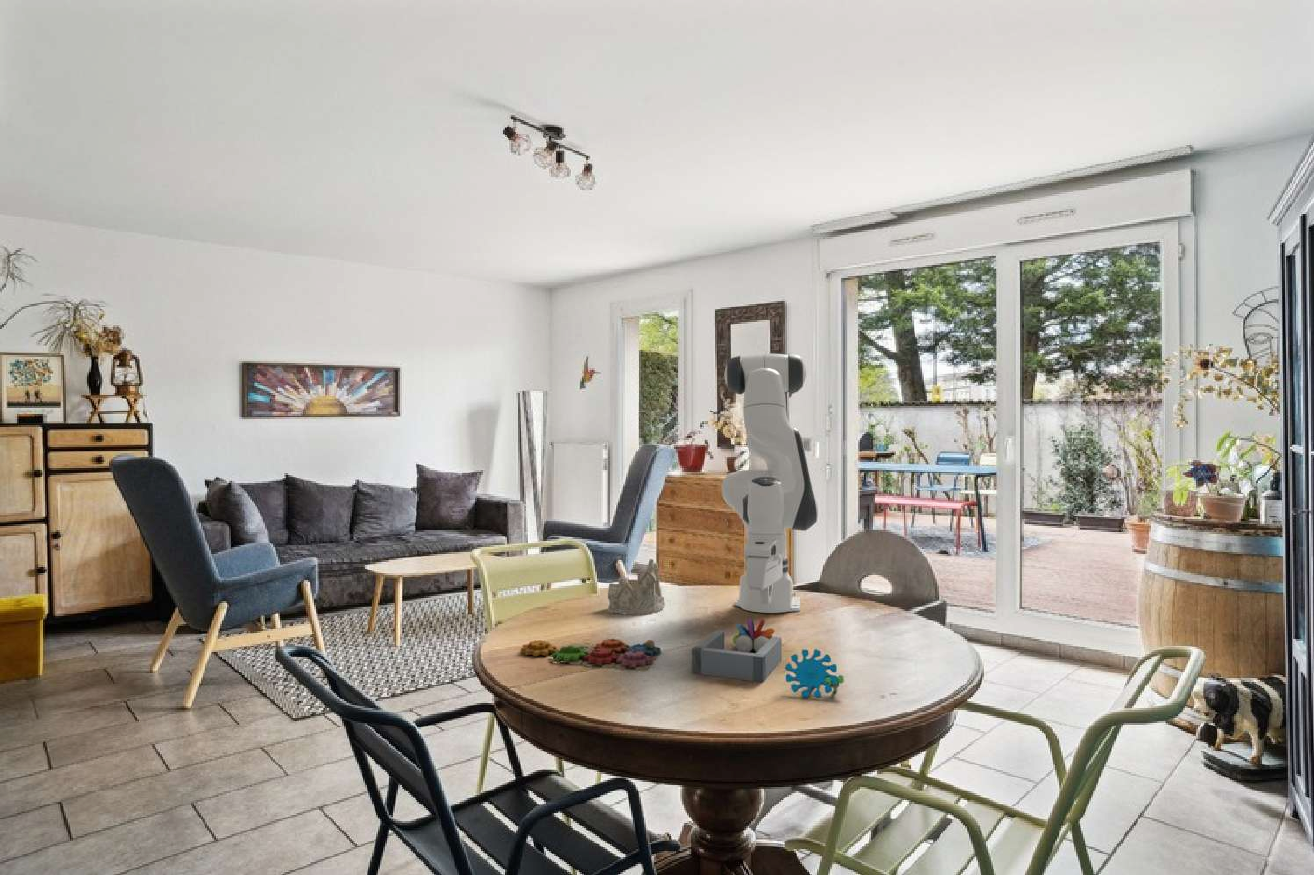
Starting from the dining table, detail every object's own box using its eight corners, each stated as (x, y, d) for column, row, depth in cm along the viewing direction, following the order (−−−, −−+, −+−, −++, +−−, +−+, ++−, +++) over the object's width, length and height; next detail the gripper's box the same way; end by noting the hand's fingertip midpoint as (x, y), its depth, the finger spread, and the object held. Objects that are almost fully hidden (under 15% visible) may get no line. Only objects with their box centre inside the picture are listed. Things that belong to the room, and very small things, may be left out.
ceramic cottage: (670, 602, 224) (666, 551, 223) (658, 618, 208) (654, 562, 207) (618, 603, 227) (614, 552, 226) (602, 618, 211) (598, 564, 210)
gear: (777, 686, 145) (792, 641, 151) (780, 701, 150) (794, 656, 156) (836, 703, 141) (848, 655, 147) (837, 718, 145) (849, 671, 151)
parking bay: (715, 652, 174) (715, 630, 174) (781, 660, 168) (781, 637, 168) (691, 672, 159) (691, 648, 159) (762, 682, 153) (762, 657, 153)
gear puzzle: (508, 662, 167) (508, 643, 167) (537, 643, 183) (537, 625, 183) (647, 674, 160) (647, 654, 160) (665, 652, 175) (665, 634, 175)
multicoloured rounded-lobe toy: (774, 657, 171) (774, 624, 171) (730, 654, 173) (731, 622, 173) (776, 646, 179) (776, 615, 179) (734, 644, 181) (734, 613, 181)
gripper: (764, 540, 196) (764, 595, 195) (741, 549, 177) (741, 609, 177) (788, 541, 193) (789, 596, 193) (768, 550, 174) (768, 611, 174)
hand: (766, 603), depth 185 cm, fingers closed
